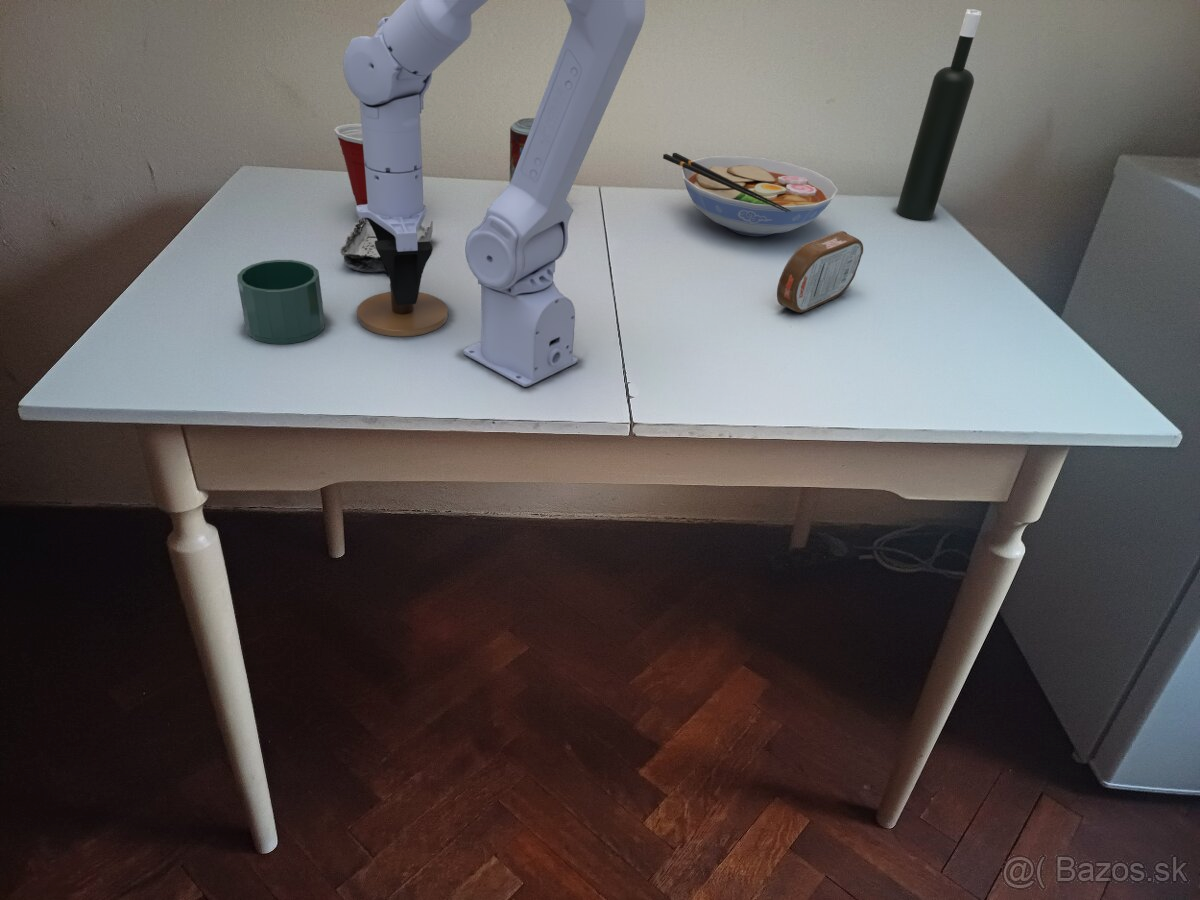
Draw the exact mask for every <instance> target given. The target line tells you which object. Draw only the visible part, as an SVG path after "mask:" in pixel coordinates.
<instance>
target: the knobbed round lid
mask: <svg viewBox="0 0 1200 900" xmlns="http://www.w3.org/2000/svg"><path fill="white" fill-rule="evenodd" d="M389 288H390V289H389V290H390V291H385V292H382V293H377V294H375V295H372V296H370V297H369V296H368V297H367V298H366V299H364V300H363V301H362V302H360V304H359V305H358V306H357V309H356V318H357V321H358V323H359V324H360V326H361V327H362V328H364V329H366V330H367V331H369V332H372V333H374V334H378V335H382V336H388V337H398V338H399V337H400V338H401V337H402V338H404V337H415V336H421V335H427V334H429V333H431V332H434V331H436V330H438V329H439V328H442V326H444V325H445V324H446V322H447V321H448V319H449V309H448V305H447V304H446V303H445V302H444V301H443V300H442V299H441V298H439V297H437V296H435V295H433V294H429V293H426V292H420V291H419V294H418V298H417V302H416V304H408V305H397V303H396V301H395V298H394V295H393V292H392V287H391V283H389Z"/></svg>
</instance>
